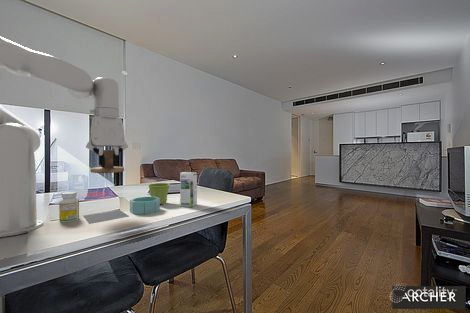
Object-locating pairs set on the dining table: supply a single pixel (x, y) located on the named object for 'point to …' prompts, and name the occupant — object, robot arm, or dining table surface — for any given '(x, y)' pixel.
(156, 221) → the dining table surface
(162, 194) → the plant pot
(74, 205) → the supplement bottle
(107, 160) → the lid
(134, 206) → the bowl
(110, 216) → the mat
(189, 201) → the syrup box
